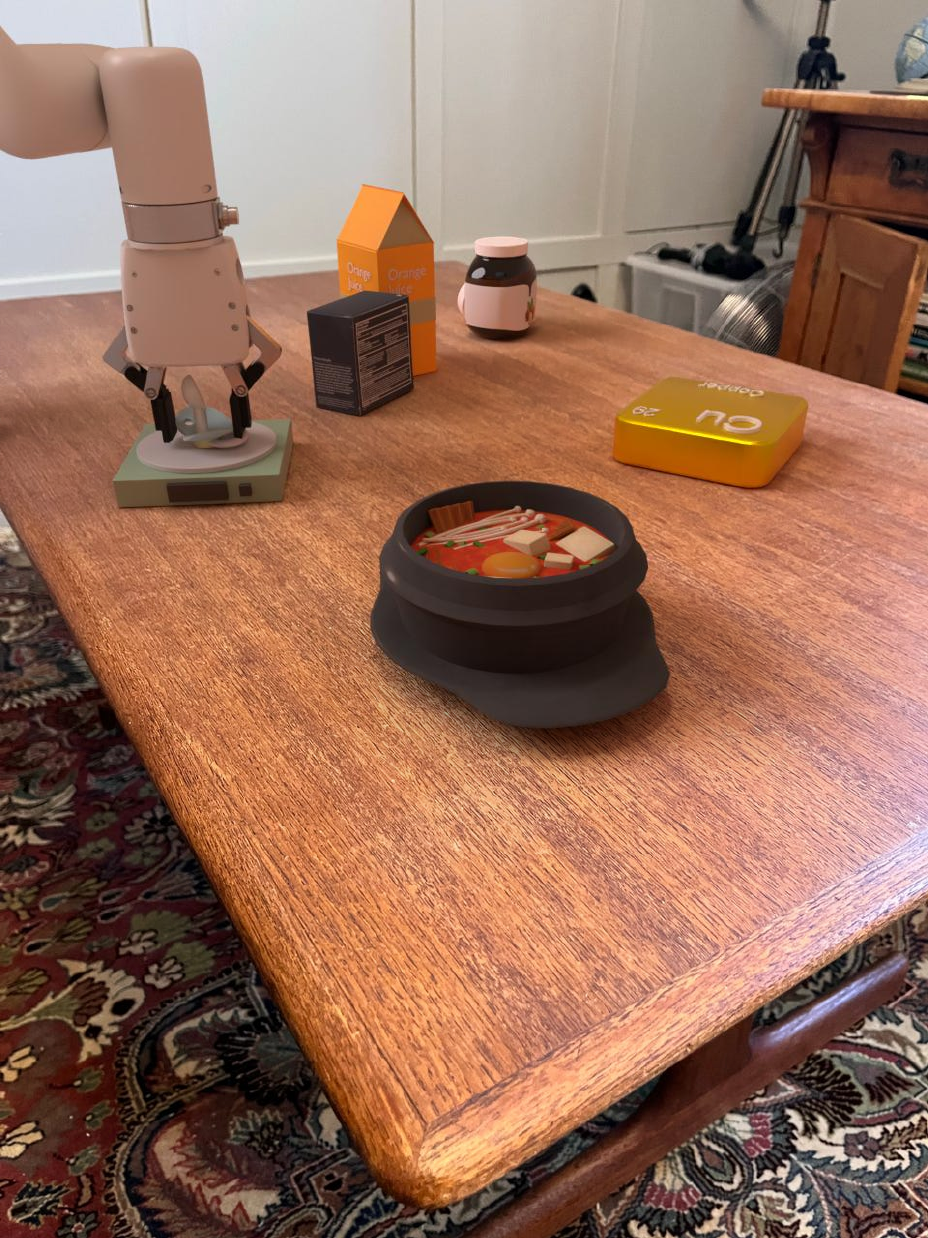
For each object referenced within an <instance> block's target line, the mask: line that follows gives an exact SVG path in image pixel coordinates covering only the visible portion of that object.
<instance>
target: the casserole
mask: <svg viewBox="0 0 928 1238" xmlns="http://www.w3.org/2000/svg"><path fill="white" fill-rule="evenodd" d="M642 546H643V545H642V544H641V543H640V542H639V541H638V540H637V537H636V535H635V530H634V526H633V525H632V523H631V522H630V520H629V518H628V516H627V515H625V514H624V512H622V510H620V509H619V508H618V507H616V506H615V505H614V504H612V503H610V502H609V501H607V500H606V499H603V498H601V497H599V496H597V495H595V494H592V493H589V492H587V491H583V490H580V489H577V488H574V487H570V486H565V485H561V484H555V483H550V482H540V481H533V480H493V481H482V482H481V481H480V482H474V483H466V484H462V485H457V486H452V487H447V488H445V489H443V490H439V491H435V492H433V493H430V494H428V495H426V496H424V497H422V498H420V499H418V500H416V501H414V502H413V503H412V504H411V505H410V506H408V507H406V508H405V509H404V510H403V512H401V514H400V515H399V516H398V517H397V520H396V522H395V525H394V528H393V530H392V534H391V535H390V537H389V538H388V539H387V540H386V541H385V542H384V544H383V545H382V548H381V551H380V553H379V556H378V563H379V590H378V593H377V595H376V598H375V601H374V604H373V607H372V610H371V612H370V615H369V617H370V618H369V619H370V620H369V621H370V631H371V634H372V637H373V638H374V641H375V643H376V645H377V647H378V648H379V649H380V650H381V651H382V652H383V654H385V656H386V657H387V658H388V660H390V661H392V662H393V663H394V664H396V665H397V666H398V667H400V669H402V670H404V671H406V672H407V673H409V674H411V675H414V676H415V677H418V678H419V679H422V680H424V681H426V682H428V683H431V684H433V685H435V686H437V687H440V688H441V689H443V690H446V691H447V692H450V693H452V694H454V695H455V696H457V697H458V698H460V699H461V700H462V701H464V702H465V703H466V704H468V705H470V706H471V707H472V708H474V709H475V710H477V711H479V712H480V713H481V714H483V715H485V716H487V717H488V718H490V719H491V720H493V721H496V722H499V723H503V724H507V725H510V726H514V727H517V728H531V729H533V728H534V729H557V728H570V727H579V726H583V725H584V726H585V725H589V724H594V723H599V722H604V721H605V722H606V721H608V720H610V719H614V718H617V717H619V716H622V715H626V714H628V713H630V712H633V711H635V710H637V709H639V708H641V707H642V706H644V705H646V704H648V703H650V702H652V701H653V700H655V698H657V697H658V696H659V695H660V694H661V693H662V692H663V691H665V689H666V688H667V687H668V684H669V680H670V677H671V672H670V670H669V667H668V665H667V663H666V659H665V657H664V656H663V653H662V651H661V649H660V647H659V645H658V644H657V638H656V637H657V636H656V628H655V620H654V619H655V618H654V613H653V611H652V609H651V607H650V605H649V603H648V601H647V599H646V598H645V597H644V596H643V595H642V594H641V592H640V591H638V590H639V588H640V587H641V586H642V584H643V583H644V582H645V580H646V576H647V573H648V570H649V563H648V555H647V553H646V551H645V550H644V548H643V547H642Z"/></svg>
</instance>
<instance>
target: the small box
mask: <svg viewBox="0 0 928 1238" xmlns="http://www.w3.org/2000/svg"><path fill="white" fill-rule="evenodd" d="M409 312H410V311H409V295H403V294H394V293H384V292H374V291H365V290H364V291H361V292H359V293H356V294H353V295H350V296H348V297H345V298H342V299H340V298H339V299H337V300H334V301H331V302H328V303H326V304H322V305H319V306H318V307H314V308H312V309H308V310H307V311H306V319H307V327H308V336H309V346H310V359H311V365H312V366H311V367H312V377H313V386H314V396H315V406H316V408H319V409H324V410H328V411H329V410H330V411H334V412H338V413H345V414H349V415H354V416H359V417H360V416H363V415H365V414H367V413H369V412H371V411H373V410H375V409H377V408H380V407H381V406H383V405H385V404H386V403H389V402H391V401H392V400H394V399H396V398H398V397H400V396H402V395H404V394H406V393H408V392H411V391H413V390H414V389H415V382H414V376H413V369H412V352H411V331H410V313H409Z"/></svg>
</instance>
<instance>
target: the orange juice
mask: <svg viewBox="0 0 928 1238" xmlns="http://www.w3.org/2000/svg"><path fill="white" fill-rule="evenodd" d="M348 213H349V214H348V215H347V217H346V220H345V221H344V224H343V226H342V229H341V230H340V233H339V235H338V237H337V238H335V239H336V241H335V242H336V252H337V267H338V279H339V299H342V298H345V297H348V296H350V295H353V294H356V293H359V292H361V291H364V290H365V291H374V292H384V293H394V294H403V295H409V311H410V312H409V313H410V331H411V352H412V369H413V377H416V376H420V375H425V374H428V373H432V372H437V370H438V369H437V367H438V365H437V364H438V363H437V329H436V327H437V326H436V325H437V324H436V320H437V307H436V305H437V304H436V301H437V300H436V287H435V286H436V283H435V242H434V240H433V239H432V237H431V235H430V234H429V232H428V231H427V229H426V227H425V226H424V224H423V222H422V221H421V219H420V217H419V216H418V214H417V212H416V211H415V209H414V207H413V206H412V204H411V203H410V201H409V200H408V198H407V197H406V194H405V193H404V192H403V191H399V190H394V189H388V188H383V187H380V186H379V187H378V186H374V185H368V184H364V183H361V187H360V190H359V191H358V194H357V197H356V198H355V200H354V203H353V204H352V207H351V210H350V211H349V212H348Z"/></svg>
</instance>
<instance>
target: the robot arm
mask: <svg viewBox="0 0 928 1238" xmlns="http://www.w3.org/2000/svg"><path fill="white" fill-rule="evenodd" d="M208 114H209V113H208V107H207V98H206V92H205V82H204V76H203V71H202V66H201V64H200V62H199V60H198V58H197V57H196V56H195V54H194V53H193V52H192V51H190V50H189V49H185V48H183V47H176V46H129V47H126V46H125V47H117V48H115V47H110V46H105V45H98V44H93V43H62V42H60V43H59V42H58V43H16V42H15V41H14V40H13V39H12V37H11V36H9V34H7V32H6V31H5V29H4V28H3V27H2V26H1V25H0V151H1V152H3V153H5V154H7V155H9V156H12V157H15V158H18V159H22V160H23V159H24V160H40V159H47V158H52V157H59V156H66V155H72V154H79V153H81V154H82V153H87V152H88V153H89V152H95V151H100V150H105V149H112V155H113V160H114V167H115V173H116V177H117V183H118V184H117V185H118V189H119V196H120V200H121V201H120V203H121V207H122V213H123V214H122V215H123V219H124V224H125V231H126V235H127V239H124V240H123V241H121V243H120V284H121V285H120V286H121V298H122V310H123V320H124V325H123V327H122V328H121V329H120V330H119V332H118V333H117V335H116V336H115V338H114V339H113V340H112V341H111V343H110V344H109V346H108V347H107V348H106V350H105V351H104V353H103V355H102V360H103V362H104V363H105V364H106V365H108V366H109V367H111V368H113V369H114V370H115V371H116V372H118V373H119V374H121V375H123V376H124V377H125V379H126V380H128V382H130V383H131V384H132V385H133V386H135V387H136V388H137V389H138V390H140V391H141V392H142V393H143V395H144V397H145V398H146V399H148V400H149V401H150V406H151V407H150V408H151V412H152V418H153V424H155V429H156V431H162V436H163V441H164V443H170V442H171V441H173V439H174V437H175V435H176V433H177V426H176V423H175V420H176V412H175V407H174V401H173V395H172V394H173V393H172V391H170V388H167V385H166V384H165V381H166V376H167V370H168V368H178V367H179V368H181V367H185V368H186V367H212V366H213V367H214V366H215V367H217V366H220V367H221V369H222V370H223V373H224V374H225V377H226V380H227V381H228V383H229V384H230V386H231V389H230V390H231V391H230V395H229V398H228V403H229V409H230V417H231V418H230V419H232V425H233V432H234V438H240V439H242V437H243V433H244V431H245V429H246V428H251V425H252V420H253V419H252V411H251V404H250V403H251V402H250V395H249V391H250V390H252V388H253V387H254V386H255V385H256V383H257V382H258V381H259V380H260V379H261V378H262V377H263V375H264V374H265V373H266V372H267V371H268V370H270V368H271V367H272V366H273V365H274V364H275V363H276V362H277V361H278V360H279V359H280V358H281V356H282V353H283V348H282V346H281V345H280V344H279V343H278V342H277V340H275V339H274V338H273V337H272V336H271V335H270V334H269V333H268V332H267V331H266V330H264V328H262V326H260V324H258V322H256V321H255V320H254V319H253V318H252V315H251V308H250V304H249V303H250V302H249V298H248V292H247V286H246V282H245V276H244V272H243V268H242V262H241V260H240V256H239V251H238V248H237V246H236V243H235V240H234V238H233V237H232V236H229V235H224V233H223V232H224V230H226V229H227V227H231V225H240V214H239V209H238V207H237V206H229V205H228V204H227V205H224V202H221V197H220V196H219V195H218V186H217V179H216V170H215V162H214V154H213V153H214V152H213V146H212V138H211V130H210V123H209V121H210V120H209V115H208ZM253 345H254V346H255V347H256V348H257V349H258V350H259V351H260V354H259V355H258V356H257V357H256V358H255V359H254V360H252V362H251V363H250V364H249V365H248V366H247V368H246V367H245V364H244V361H245V360H247V358H248V357H249V353H250V348H252V347H253ZM127 350H129V354H130V357H129V356H128V355H127ZM145 367H147V369H146V368H145Z"/></svg>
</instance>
